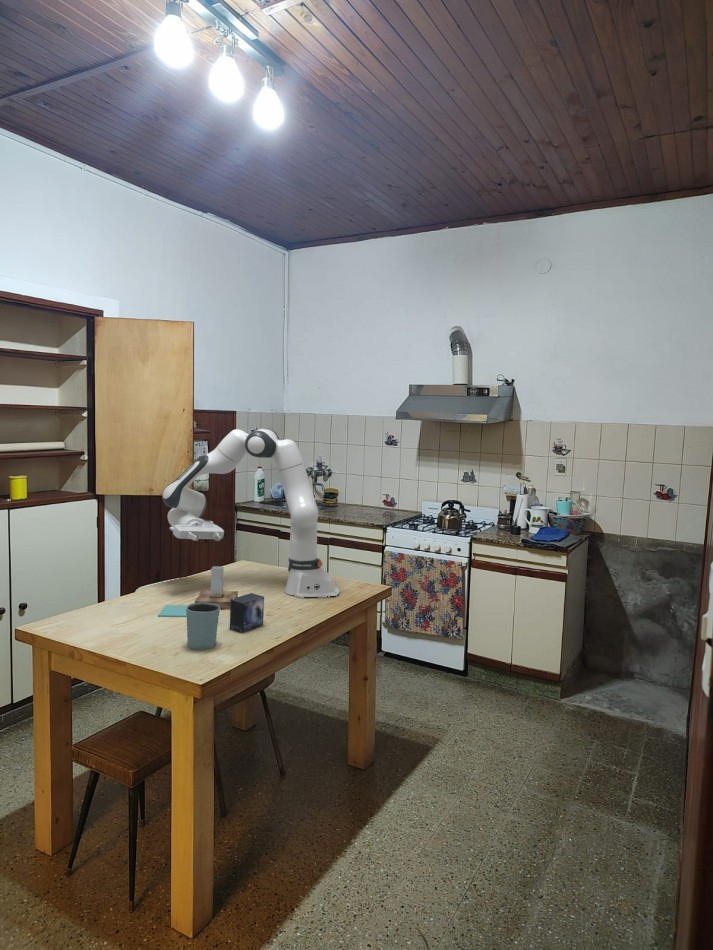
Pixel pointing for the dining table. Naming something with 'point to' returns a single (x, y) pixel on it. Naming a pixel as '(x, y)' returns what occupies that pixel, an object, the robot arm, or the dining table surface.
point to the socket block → (222, 602)
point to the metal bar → (217, 582)
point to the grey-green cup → (202, 625)
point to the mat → (173, 611)
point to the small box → (246, 612)
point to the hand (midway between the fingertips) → (207, 538)
